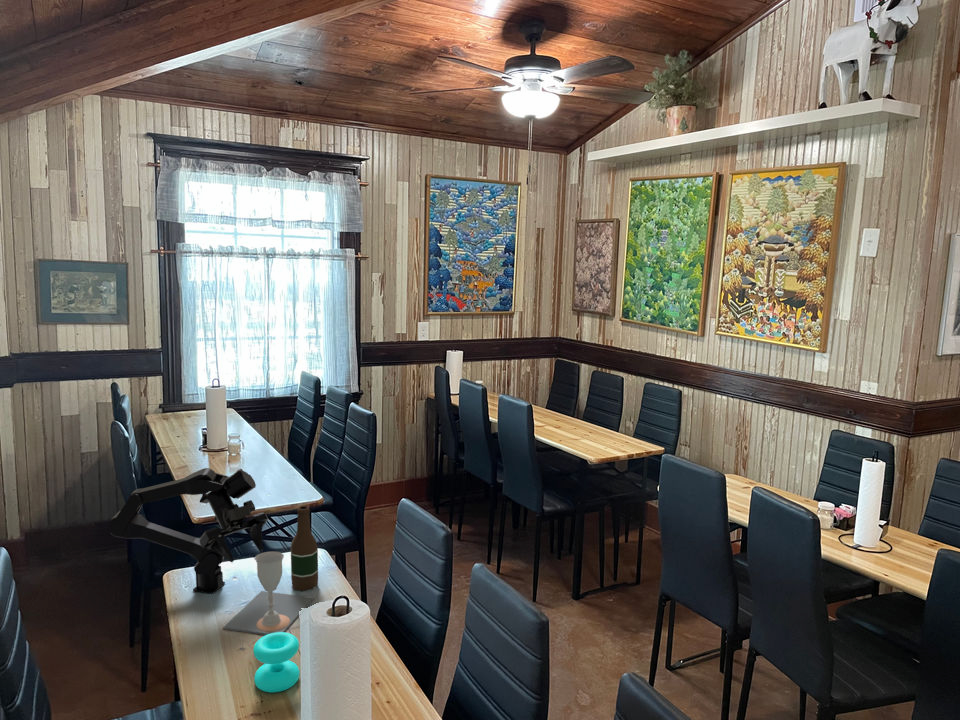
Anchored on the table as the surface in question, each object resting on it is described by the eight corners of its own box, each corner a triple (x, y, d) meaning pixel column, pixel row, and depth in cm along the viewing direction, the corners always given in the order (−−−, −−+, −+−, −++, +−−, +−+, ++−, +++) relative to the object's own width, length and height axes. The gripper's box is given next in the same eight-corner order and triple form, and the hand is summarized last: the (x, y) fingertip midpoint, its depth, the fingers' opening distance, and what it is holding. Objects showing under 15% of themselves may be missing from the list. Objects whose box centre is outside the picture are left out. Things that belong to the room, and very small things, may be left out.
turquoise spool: (302, 648, 158) (255, 657, 154) (303, 689, 160) (257, 699, 156) (294, 626, 167) (250, 634, 163) (295, 664, 169) (252, 674, 165)
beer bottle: (323, 585, 208) (322, 507, 204) (300, 594, 202) (299, 514, 198) (308, 576, 213) (307, 500, 209) (285, 585, 207) (284, 507, 203)
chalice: (288, 614, 190) (287, 551, 187) (281, 628, 183) (280, 563, 180) (261, 614, 190) (259, 551, 187) (253, 628, 183) (251, 562, 180)
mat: (223, 629, 183) (223, 626, 183) (261, 592, 203) (261, 590, 203) (280, 637, 180) (280, 635, 180) (313, 599, 200) (313, 597, 200)
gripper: (203, 502, 188) (228, 553, 184) (263, 485, 203) (288, 531, 198) (189, 523, 195) (212, 572, 190) (248, 504, 209) (271, 550, 204)
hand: (247, 556), depth 195 cm, fingers open, 9 cm apart
